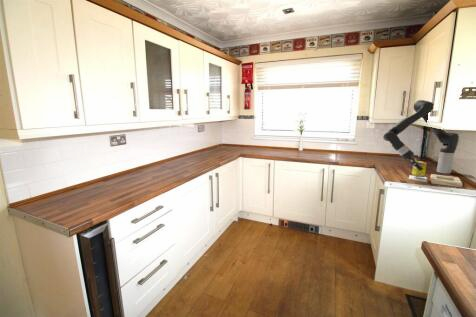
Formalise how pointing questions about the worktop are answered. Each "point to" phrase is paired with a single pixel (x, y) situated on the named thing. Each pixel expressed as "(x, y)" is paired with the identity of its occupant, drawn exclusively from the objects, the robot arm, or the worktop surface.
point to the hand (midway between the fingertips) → (421, 168)
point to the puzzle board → (446, 180)
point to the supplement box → (417, 172)
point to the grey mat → (418, 178)
